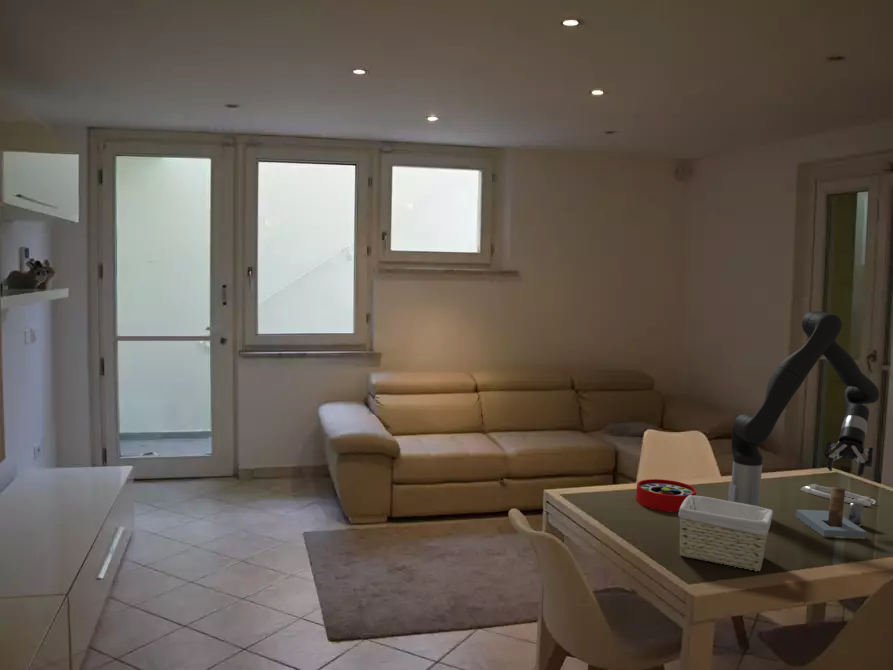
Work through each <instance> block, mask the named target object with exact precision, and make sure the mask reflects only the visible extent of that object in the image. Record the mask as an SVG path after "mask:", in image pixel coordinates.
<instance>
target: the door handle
mask: <svg viewBox="0 0 893 670" xmlns="http://www.w3.org/2000/svg"><path fill="white" fill-rule="evenodd" d="M800 491H802V492H804V493H806V494H810V495H814V496H817V497H820V498H824V499H827V500H830V495H831V487H829V486H822V485H819V484H818V483H817V484H815V483H811V484H809V485H806V486H802V487H801V488H800ZM845 496H846V497H845V498H844V502H845V503H844V504H848V503H850V502H858V503H862V504H863V507H864V506H868V507H870V506H872V505H871V503H872V504H873V505H875V504H876V503H877V501H876V500H875V499H872V498H870V496H866V495H864V496H862V495H861V494H857V493H853V492H849V491H846V490H845ZM849 497H850V498H849ZM852 498H854V499H852ZM856 499H857V500H856Z"/></svg>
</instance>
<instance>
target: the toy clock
mask: <svg viewBox="0 0 893 670" xmlns="http://www.w3.org/2000/svg"><path fill="white" fill-rule="evenodd" d="M689 495H692V496H697V489H696V488H695V487H694V486H692V485H690V484H687V483H684V482H680V481H676V480H669V479H662V478H659V479H658V478H654V479H653V478H652V479H651V478H650V479H643V480H640V481H638V482H637V483H636V491H635V501H636V503H637V502H638V503H637V504H639V505H640V504H641V506H642V505H643V506H642V507H644V506H646V507H645V508H647V507H650V508H653V509H652V510H654V509H657V510H656V511H659V510H663V511H662V512H666V511H672V512H671V513H679V509H680V506H681V505H682V503H683V501H684V500H685V499H686V497H688V496H689ZM650 508H649V509H650Z"/></svg>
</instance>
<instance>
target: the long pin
mask: <svg viewBox="0 0 893 670" xmlns="http://www.w3.org/2000/svg"><path fill="white" fill-rule="evenodd" d="M830 488H831V493H830V494H831V495H830V499H829V507H828V511H829V518H828V525H829V526H830V527H842V520H843V517H844V509H845V508H844V507H845V506H844V505H845V503H844V498H845V491H846V488H844V487H840V486H831V487H830Z"/></svg>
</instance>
